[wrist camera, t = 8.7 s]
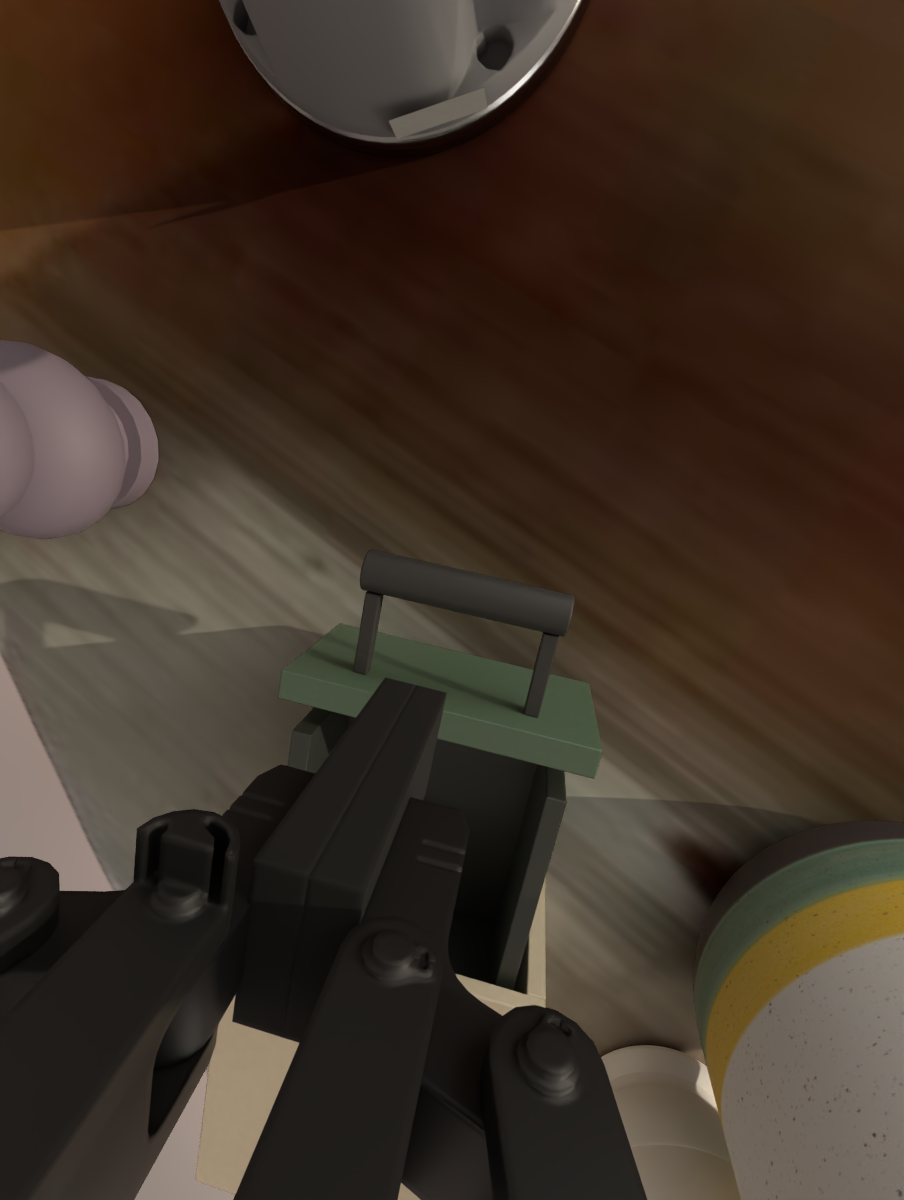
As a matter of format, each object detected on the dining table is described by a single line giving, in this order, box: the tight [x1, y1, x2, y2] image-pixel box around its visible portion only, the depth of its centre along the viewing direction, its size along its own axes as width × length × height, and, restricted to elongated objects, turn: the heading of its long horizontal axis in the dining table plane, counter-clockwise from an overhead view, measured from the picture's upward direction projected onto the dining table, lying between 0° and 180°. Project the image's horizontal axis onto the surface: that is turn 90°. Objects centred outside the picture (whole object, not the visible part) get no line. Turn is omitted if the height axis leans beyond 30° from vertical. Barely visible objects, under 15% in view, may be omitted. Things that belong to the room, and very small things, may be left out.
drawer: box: [278, 550, 603, 990], centre depth 27 cm, size 20×12×7 cm, turn 169°
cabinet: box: [195, 880, 546, 1200], centre depth 30 cm, size 16×14×9 cm
